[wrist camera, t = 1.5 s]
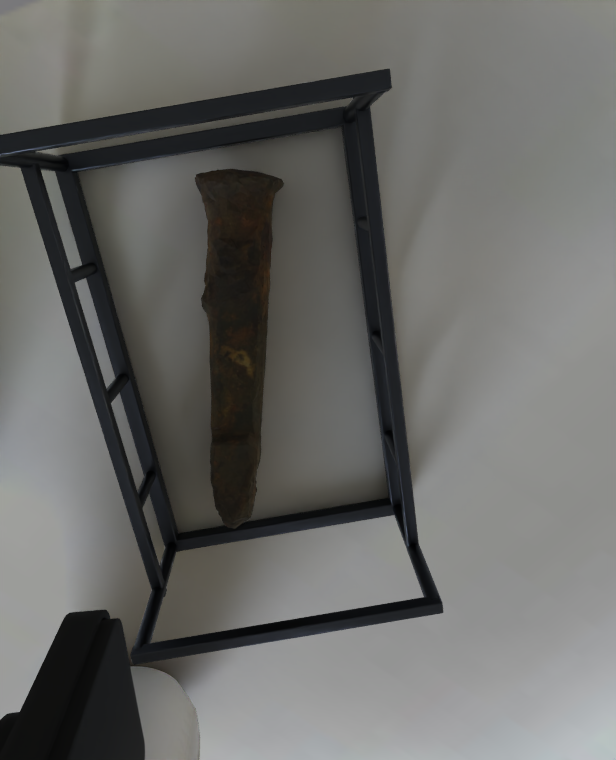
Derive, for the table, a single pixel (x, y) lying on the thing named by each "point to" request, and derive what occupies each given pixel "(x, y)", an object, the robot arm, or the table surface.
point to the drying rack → (23, 154)
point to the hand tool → (237, 328)
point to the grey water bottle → (165, 716)
